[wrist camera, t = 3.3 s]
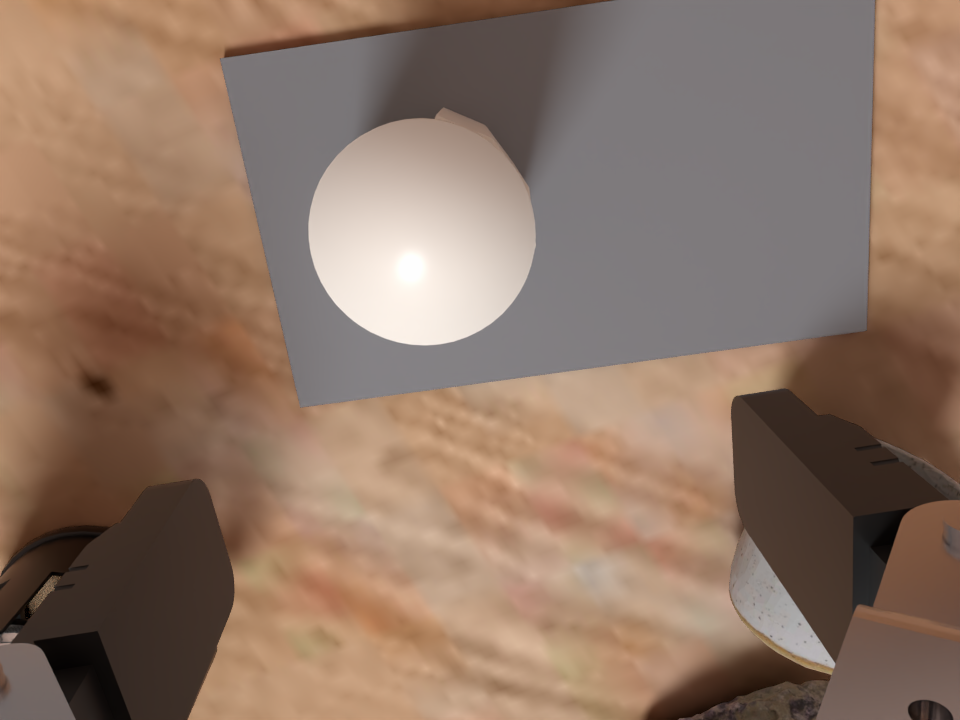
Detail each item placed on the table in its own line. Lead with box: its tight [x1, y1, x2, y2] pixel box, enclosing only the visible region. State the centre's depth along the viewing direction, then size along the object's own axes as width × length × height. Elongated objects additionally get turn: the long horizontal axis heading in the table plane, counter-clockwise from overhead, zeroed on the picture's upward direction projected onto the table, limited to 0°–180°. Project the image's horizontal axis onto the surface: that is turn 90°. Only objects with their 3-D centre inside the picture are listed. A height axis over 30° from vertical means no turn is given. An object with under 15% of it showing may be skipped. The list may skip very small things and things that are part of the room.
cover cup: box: [308, 107, 536, 345], centre depth 27 cm, size 6×6×9 cm
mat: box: [220, 0, 875, 408], centre depth 31 cm, size 24×14×1 cm, turn 98°
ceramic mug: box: [729, 438, 960, 675], centre depth 33 cm, size 11×8×8 cm
